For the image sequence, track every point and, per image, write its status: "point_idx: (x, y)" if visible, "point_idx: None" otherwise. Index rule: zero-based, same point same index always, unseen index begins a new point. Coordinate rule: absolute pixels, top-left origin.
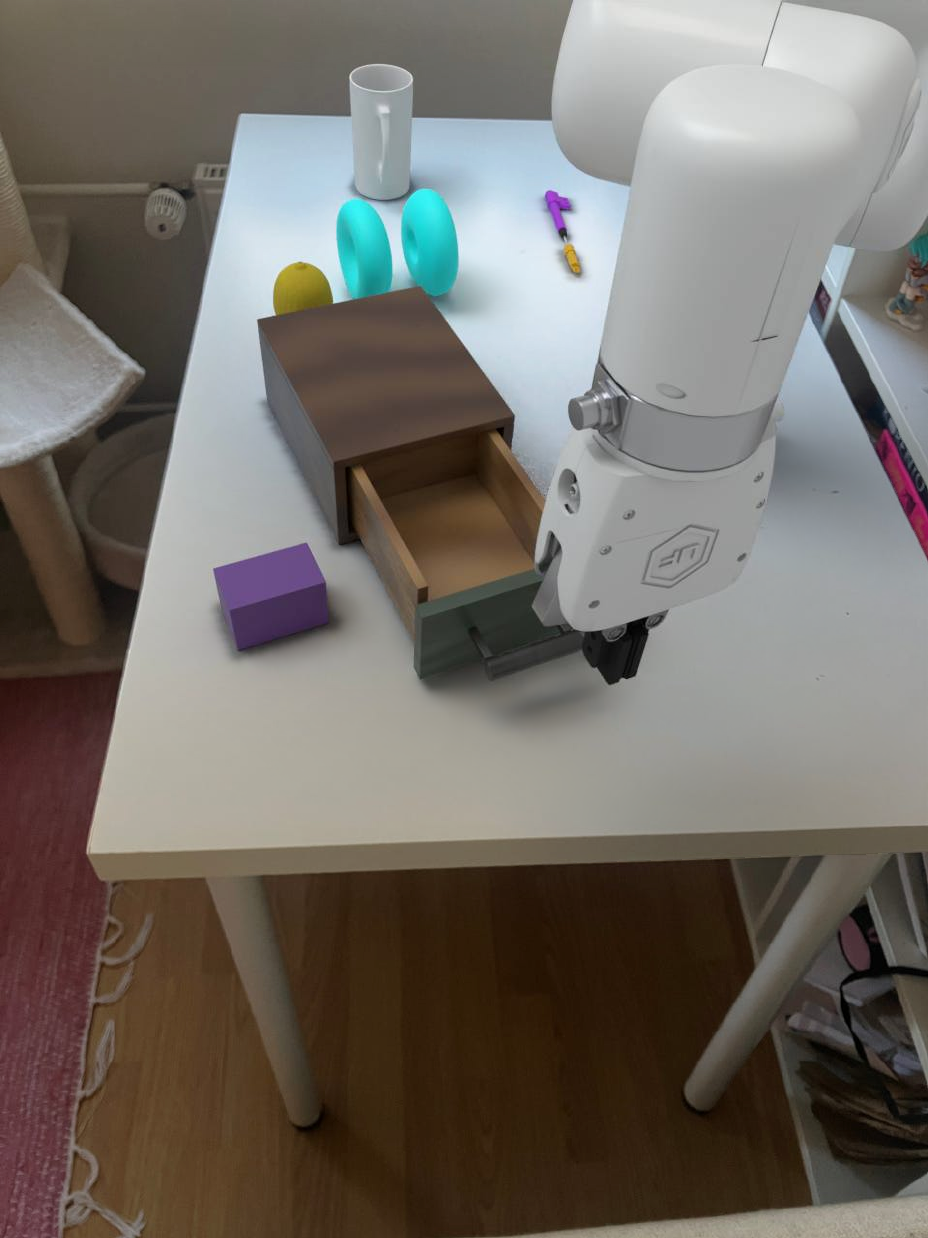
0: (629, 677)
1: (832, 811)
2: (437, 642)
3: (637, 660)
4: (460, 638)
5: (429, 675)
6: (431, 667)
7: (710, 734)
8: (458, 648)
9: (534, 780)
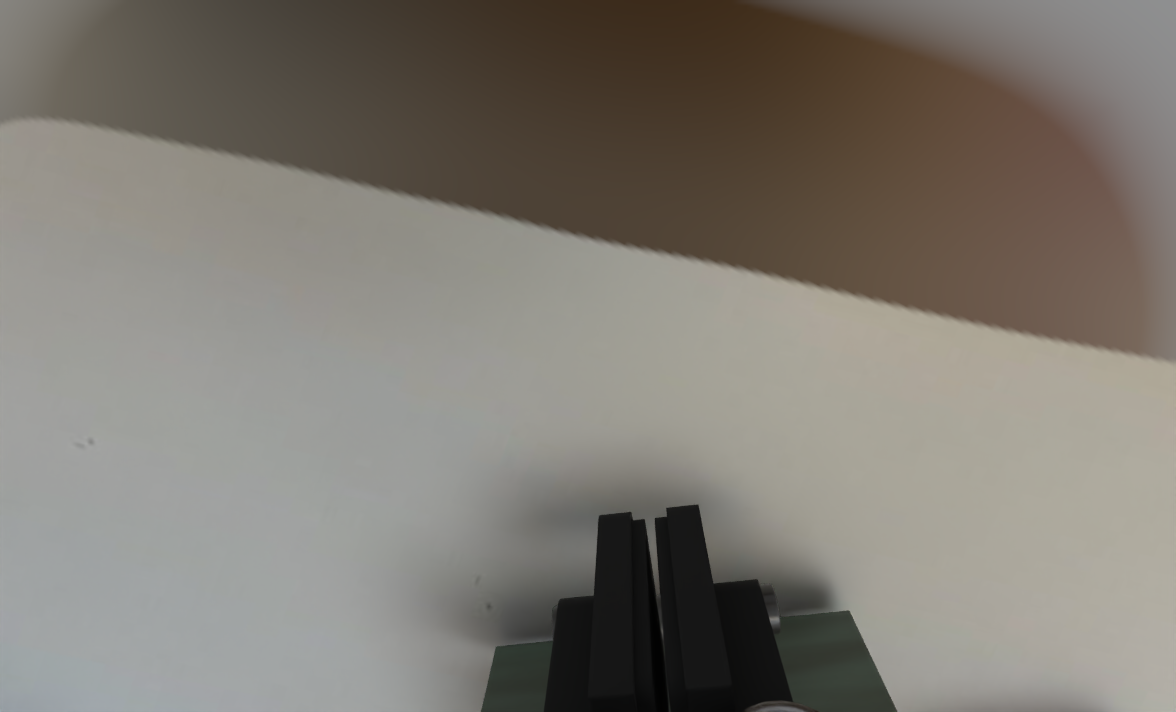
0: (624, 516)
1: (152, 164)
2: (847, 687)
3: (612, 574)
4: (790, 683)
5: (831, 615)
6: (834, 631)
7: (339, 380)
8: (786, 660)
9: (707, 371)
